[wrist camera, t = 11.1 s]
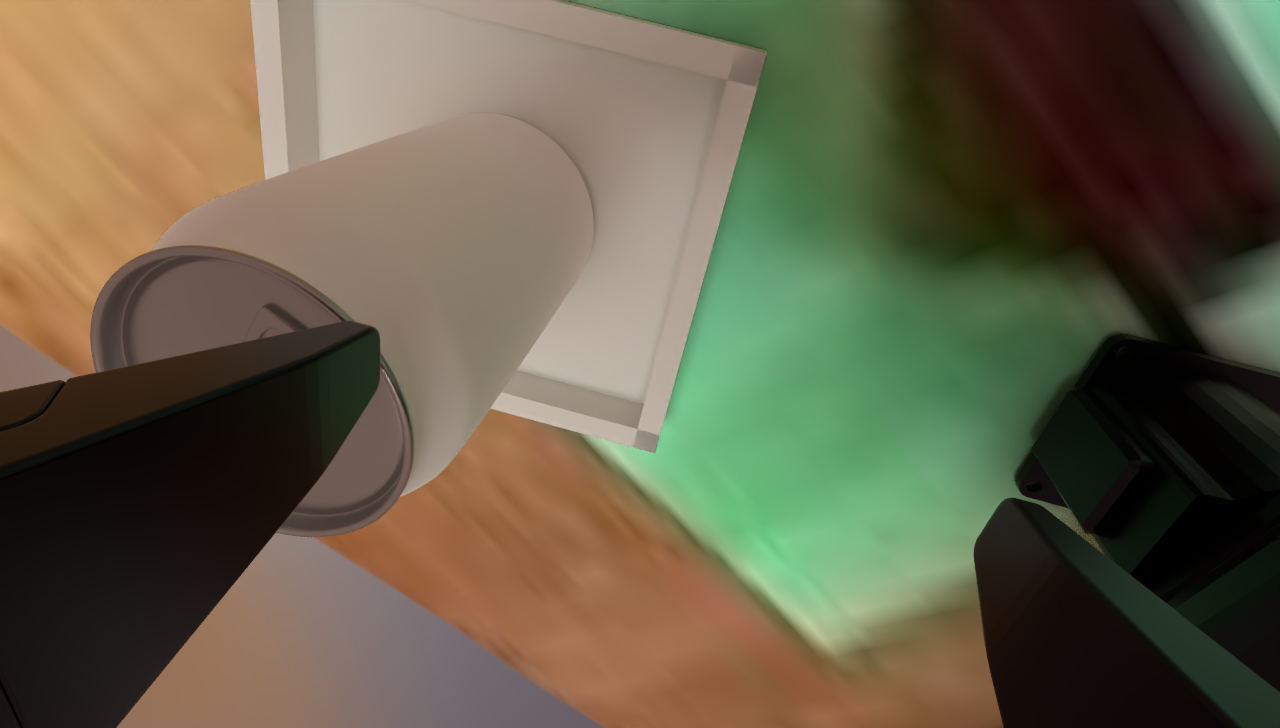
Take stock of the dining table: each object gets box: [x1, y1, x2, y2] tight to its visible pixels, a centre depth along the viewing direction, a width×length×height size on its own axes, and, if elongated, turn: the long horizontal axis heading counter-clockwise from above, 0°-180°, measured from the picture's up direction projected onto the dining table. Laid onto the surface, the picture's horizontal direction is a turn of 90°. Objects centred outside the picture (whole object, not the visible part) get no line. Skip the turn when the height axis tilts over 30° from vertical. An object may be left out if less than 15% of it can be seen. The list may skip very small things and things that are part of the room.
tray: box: [250, 0, 767, 453], centre depth 21 cm, size 14×13×2 cm
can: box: [90, 113, 594, 537], centre depth 16 cm, size 6×6×12 cm
